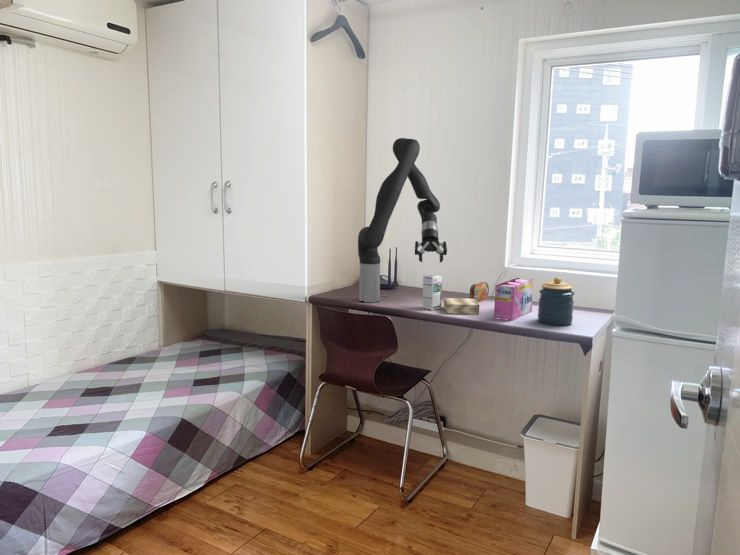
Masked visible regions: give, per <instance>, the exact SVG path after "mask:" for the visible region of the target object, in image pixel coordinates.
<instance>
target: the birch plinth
mask: <svg viewBox="0 0 740 555" xmlns="http://www.w3.org/2000/svg"><path fill="white" fill-rule="evenodd" d="M443 309H444V311H445V310H446V311H445V313H446V312H447V313H453V314H452V315H478V314H479V315H480V304H479V302H477V301H476V300H475V299H470V297H467V298H461V297H459V298H457V297H453V298H452V297H444V298H443ZM447 313H446V314H447Z"/></svg>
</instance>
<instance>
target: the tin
mask: <svg viewBox="0 0 740 555" xmlns="http://www.w3.org/2000/svg"><path fill="white" fill-rule="evenodd" d="M489 288H490V287H489V284H488V283H487V282H486V281H480V282H477V283H473V284H471V286H470V289H469V299H475V300H476V301H477V302H478V303H480V302H484V301H486V300H487V298H488V297H489V292H490V291H489Z"/></svg>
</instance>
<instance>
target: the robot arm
mask: <svg viewBox="0 0 740 555" xmlns="http://www.w3.org/2000/svg"><path fill="white" fill-rule="evenodd" d="M420 151H421V147H420V143H419V141H418V140H417V139H414V138H408V137H407V138H406V137H400V138H396V139H395V141H394V142H393V143H392V152H393V155H394V156H395V158H396V160H397V161H398V162H397V165H396V167H395V168H394V169H393V171H391V173H390V174H389V175H388V176H387V177H386V178H385V179H384V180H383V182H382V183H381V185H380V188H379V189H378V193H377V196H376V200H375V205H374V206H375V209H374V213H373V217H372V219H371V221H370V224H369V225H368V226H365V227H363V228H361V229H360V231H359V232H358V235H357V236H358V237H357V253H358V254H357V255H358V259H359V280H358V302H359V301H364V302H363V303H377V301H378V302H380V301H379V300H380V296H381V295H380V294H381V292H380V291H381V257H380V255H379V250H378V249H379V247H380V246H381V244H382V243H383V240H384V237H385V234H386V231H387V228H388V225H389V221H390V219H391V217H392V214H393V212H394V210H395V207H396V205H397V203H398V201H399V199H400V198H399V197H400V196H401V193H402V190H403V188H404V186H405V183H406V181H407V178H408V181H409V182H410V184H411V186H412V189H413V191H414V194H415V196H416V198H417V199H419V200H421V201H419V202H418V203H417V206H416V208H417V211H418V214H419V216H420V219H421V232H420V233H421V242H418V241H417V240H416V241H415V243H414V255H416V256H417V255H418V261H419V262H420V263H423V254H425V253H426V252H428V253H429V252H431V253H435V254H438V255H439V263H440V264H441V263H442V262H444V256H447V254H448V247H447V242H446V241H443V242H440V241H439V239H440V238H439V227H438V221H437V220H438V219H437V218H438V217H437V214H436V213H438V212H439V211H440V209H441V204H440V200H438V198H437V197H436V195H434V193H433V192H432V191H431V188H430V186H429V183H428V181H427V178H425V176H424V174H423V173H422V172H421V171H420V169H419V168H418V167H417V165H416V164H415V162H416V161H417V158H418V156H419V154H420ZM420 247H421V248H420ZM419 248H420V249H419ZM441 248H442V249H443V250H442V249H441ZM418 249H419V250H418Z"/></svg>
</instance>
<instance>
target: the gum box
mask: <svg viewBox="0 0 740 555" xmlns="http://www.w3.org/2000/svg"><path fill="white" fill-rule="evenodd" d="M533 283H534V279H532V278H530V280H526V279H520V278H519V277H516V278H511V279H509V280H507V281H504V282H501V283H497V284H495V290H494V291H495V292H494V305H493V306H494V308H493V309H494V310H493V319H496V318H500V319H499V320H502V319H507V320H506V321H509V320H512V321H515V320H517V319H518V317H519V318H521V317H523V316H524V314H525V315H526V313H527V314H529V313H530V311H531V312H532V310H533V287H534V286H533V285H534V284H533ZM528 312H529V313H528ZM522 315H523V316H522ZM520 316H521V317H520ZM516 318H517V319H516Z"/></svg>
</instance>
